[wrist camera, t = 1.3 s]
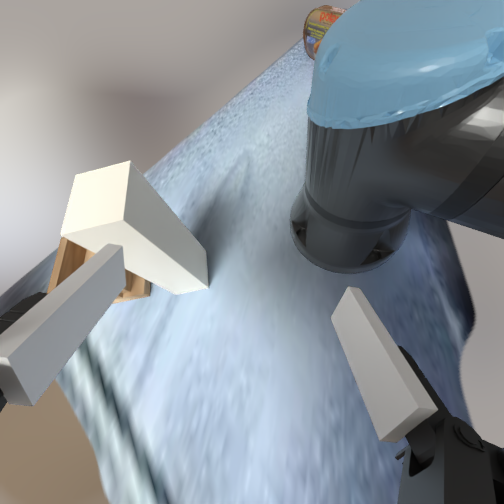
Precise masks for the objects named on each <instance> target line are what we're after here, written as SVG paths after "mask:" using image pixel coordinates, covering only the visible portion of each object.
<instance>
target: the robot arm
mask: <svg viewBox="0 0 504 504" xmlns="http://www.w3.org/2000/svg"><path fill="white" fill-rule="evenodd" d="M307 114H308V132H307V152H306V172H305V183H304V185H303V187H302V189H301V190H300V192H299V194H298V196H297V197H296V199H295V201H294V203H293V206H292V210H291V215H290V228H291V235H292V238H293V241H294V243H295V245H296V246H297V248H298V249H299V251H300V252H301V253H302V254H303V255H304V256H305V257H306V258H307V259H308V260H309V261H311V262H312V263H314V264H315V265H317V266H319V267H321V268H324V269H326V270H329V271H333V272H338V273H347V274H352V273H361V272H366V271H369V270H372V269H375V268H377V267H379V266H380V265H382V264H384V263H385V262H386V261H387V260H389V259H390V258H391V257H392V256H393V255H394V254H395V252H396V251H397V250H398V249H399V248H400V246H401V245H402V243H403V241H404V240H405V237H406V235H407V231H408V225H409V220H410V214H411V209H414V210H417V211H420V212H423V213H426V214H430V215H433V216H436V217H439V218H442V219H445V220H448V221H451V222H454V223H457V224H460V225H463V226H466V227H469V228H472V229H475V230H478V231H481V232H484V233H487V234H490V235H493V236H496V237H499V238H502V239H504V0H360V1H359V2H357V3H356V4H355V5H353V6H352V7H350V8H349V9H348V10H347V11H345V12H344V13H343V14H342V15H341V16H340V17H339V18H338V19H337V20H336V21H335V22H334V23H333V24H332V26H331V27H330V28H329V30H328V31H327V32H326V34H325V35H324V37H323V39H322V41H321V43H320V45H319V47H318V50H317V53H316V57H315V62H314V70H313V78H312V87H311V94H310V97H309V100H308V103H307ZM125 286H126V278H125V266H124V254H123V246H121V245H115V244H110V243H108V244H106V245H105V246H104V247H103V248H102V249H101V250H99V251H98V252H97V253H96V254H95V255H94V256H92V257H91V258H90V259H89V260H88V261H86V262H85V263H84V264H83V265H82V266H81V267H79V268H78V269H77V270H76V271H75V272H74V273H72V274H71V275H70V276H69V277H68V278H66V279H65V280H64V281H63V282H62V283H61V284H59V285H58V286H57V287H56V288H55V289H54V290H52V291H51V292H50V293H49V294H48V293H42V292H38V293H36V294H34V295H32V296H30V297H28V298H26V299H24V300H22V301H21V302H19V303H18V304H17V305H16V306H14V307H13V308H12V309H10V311H9V312H7V313H5V314H4V315H3V316H2V317H0V398H1V397H2V396H3V395H4V397H5V398H6V400H7V402H8V403H9V404H15V405H25V406H34V404H35V403H36V402H37V401H38V399H39V398H40V397H41V395H42V394H43V393H44V392H45V390H46V389H47V387H48V386H49V385H50V384H51V382H52V381H53V380H54V379H55V377H56V376H57V375H58V373H59V372H60V371H61V369H62V368H63V367H64V365H65V364H66V363H67V362H68V360H69V359H70V358H71V356H72V355H73V354H74V352H75V351H76V350H77V348H78V347H79V346H80V345H81V343H82V342H83V341H84V339H85V338H86V337H87V335H88V334H89V333H90V332H91V330H92V329H93V328H94V326H95V325H96V324H97V322H98V321H99V320H100V318H101V317H102V316H103V315H104V313H105V312H106V311H107V309H108V308H109V307H110V305H111V304H112V303H113V302H114V300H115V299H116V298H117V296H118V295H119V294H120V292H121V291H122V290H123V288H124V287H125ZM331 320H332V323H333V325H334V328H335V330H336V333H337V335H338V338H339V340H340V343H341V345H342V348H343V350H344V353H345V355H346V358H347V360H348V363H349V365H350V368H351V370H352V373H353V375H354V378H355V380H356V383H357V385H358V388H359V390H360V393H361V395H362V398H363V400H364V403H365V405H366V408H367V410H368V413H369V415H370V418H371V420H372V423H373V425H374V428H375V430H376V433H377V435H378V438H379V440H380V441H385V442H395V443H397V442H398V441H399V440H401V439H402V438H403V437H404V436H405V437H406V439H407V441H408V443H409V445H408V446H407V447H405V448H404V449H402V450H401V451H400V452H398V453H397V455H396V457H395V458H396V459H397V460H399V459H400V458H402V457H403V456H404V462H403V463H402V464H403V469H402V476H401V483H400V490H399V497H398V504H504V448H500V447H498V446H496V445H493V444H491V443H489V442H487V441H485V440H482V439H481V437H480V436H479V435H478V434H477V433H476V432H475V430H474V429H473V428H472V427H470V426H469V425H468V424H467V423H465V422H464V421H462V420H461V419H459V418H457V417H453V416H452V415H451V414H450V413H449V411H448V410H447V408H446V407H445V405H444V404H443V402H442V401H441V399H440V398H439V396H438V395H437V393H436V392H435V390H434V389H433V388H432V386H431V385H430V383H429V382H428V380H427V379H426V378H425V376H424V374H423V373H422V371H421V370H420V369H419V368H418V365H417V364H416V362H415V361H414V360H413V358H412V357H411V355H409V354H408V353H407V352H406V351H405V350H404V349H403V348H402V347H401V346H397V345H396V343H395V342H394V340H393V339H392V337H391V336H390V334H389V333H388V331H387V330H386V328H385V326H384V325H383V323H382V322H381V320H380V319H379V317H378V316H377V314H376V313H375V311H374V309H373V308H372V306H371V305H370V303H369V302H368V300H367V299H366V297H365V296H364V294H363V292H362V291H361V289H360V288H356V287H350V286H348V287H347V289H346V291H345V293H344V295H343V296H342V298H341V300H340V302H339V304H338V305H337V307H336V309H335V311H334V313H333V314H332V316H331Z"/></svg>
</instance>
